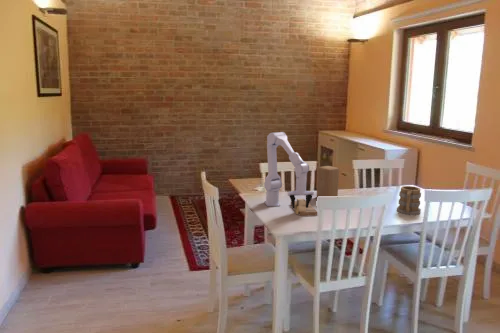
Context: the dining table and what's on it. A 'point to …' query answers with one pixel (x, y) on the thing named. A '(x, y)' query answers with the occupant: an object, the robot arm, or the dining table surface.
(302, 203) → the tan wood block
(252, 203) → the dining table surface
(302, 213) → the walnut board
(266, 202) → the robot arm
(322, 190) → the wooden block
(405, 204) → the tankard
